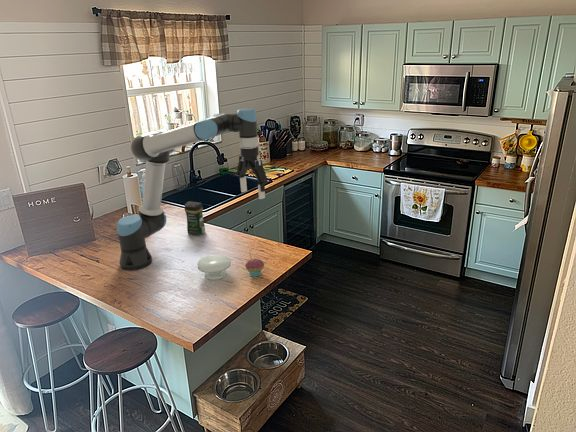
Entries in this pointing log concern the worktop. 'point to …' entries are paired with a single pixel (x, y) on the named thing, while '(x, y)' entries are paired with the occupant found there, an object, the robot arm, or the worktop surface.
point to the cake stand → (214, 266)
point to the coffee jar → (194, 218)
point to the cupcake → (254, 266)
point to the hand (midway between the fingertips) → (252, 195)
